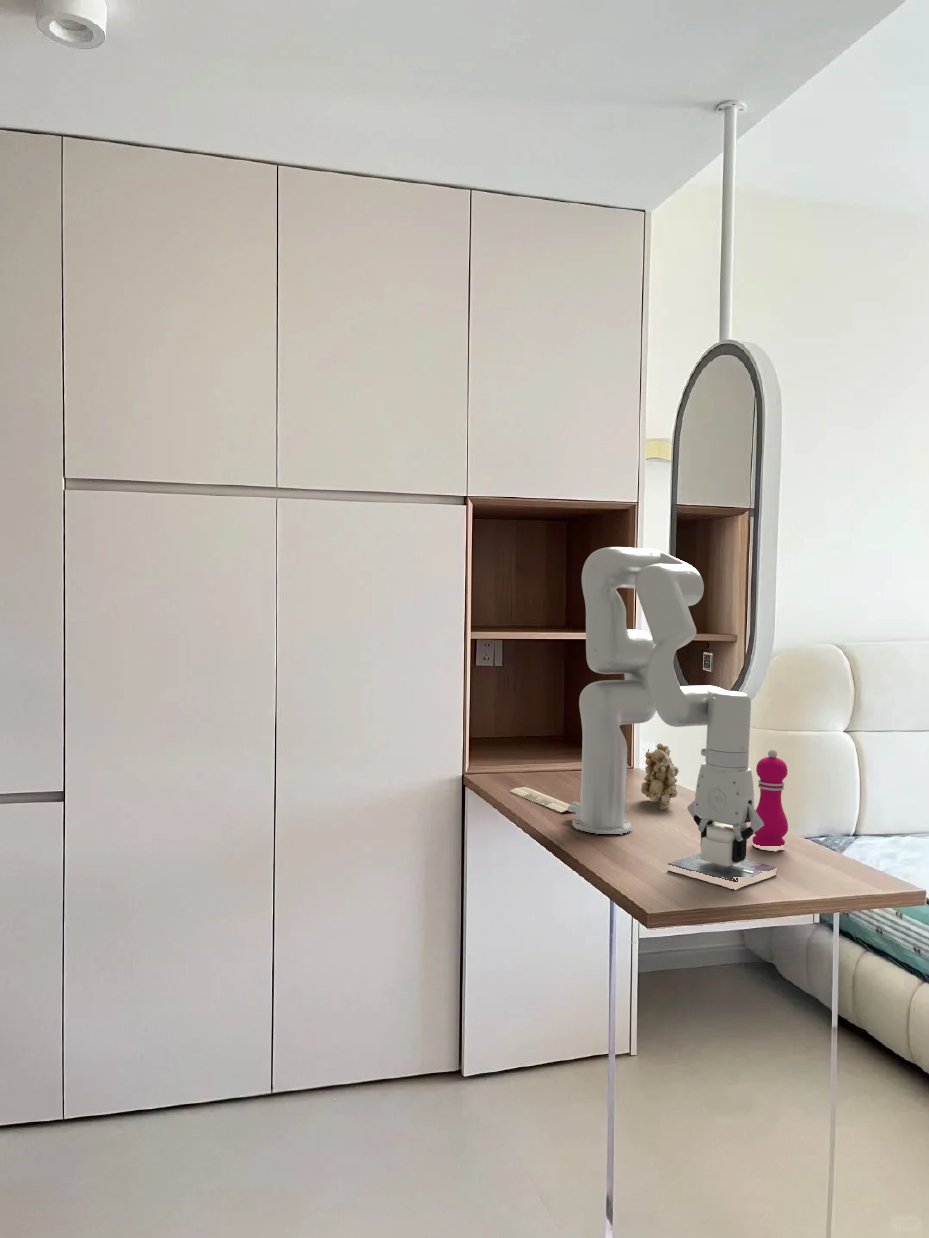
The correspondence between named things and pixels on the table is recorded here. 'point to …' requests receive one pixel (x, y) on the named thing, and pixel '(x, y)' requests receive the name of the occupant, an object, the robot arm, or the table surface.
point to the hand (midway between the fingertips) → (722, 855)
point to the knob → (718, 844)
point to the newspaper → (540, 798)
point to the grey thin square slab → (721, 868)
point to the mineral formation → (660, 776)
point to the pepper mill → (771, 801)
